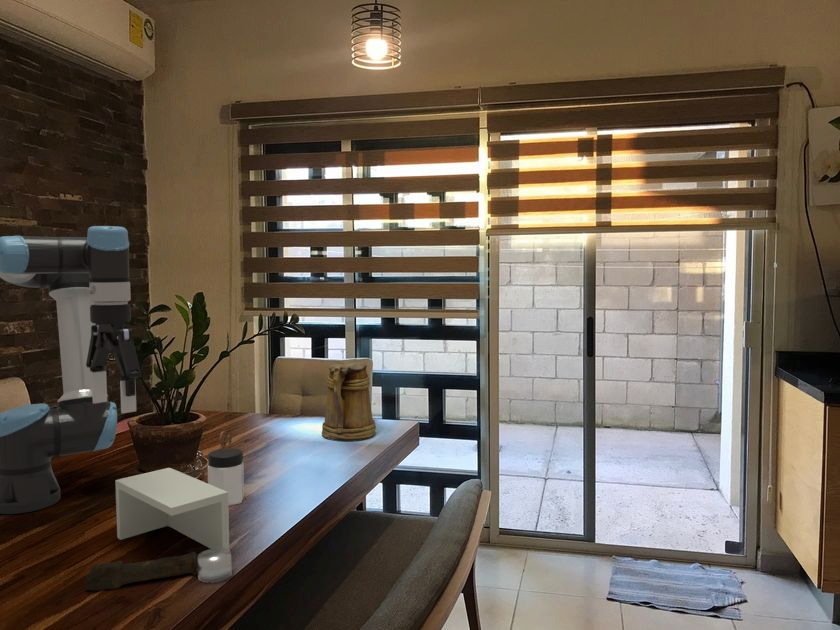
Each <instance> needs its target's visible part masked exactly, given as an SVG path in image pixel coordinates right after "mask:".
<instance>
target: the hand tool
mask: <svg viewBox="0 0 840 630" xmlns="http://www.w3.org/2000/svg"><path fill="white" fill-rule="evenodd" d="M187 574H192V575H193V576H197V574H198V558H197V553H196V551H195V552H194V551H191V552H189V553H188V554H183V555H174V556H167V557H161V558H159V559H151V560H146V561H140V562H131V563H125V564H124V563H123V561H122V560H119V561H113V562H104V563H100V564H96V565H94V566H93V567H91V568H90V569H89V571H88V574H87V575H86V578H85V581H84V588H85V590H86V591H92V592H94V591H95V590H96V591H104V590H113V589H114V590H115V589H121V588H122V586H125V585H128V584H133V583H139V582H146V581H149V580H157V579H163V578H169V577H177V576H183V575H187Z"/></svg>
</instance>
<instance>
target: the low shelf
mask: <svg viewBox="0 0 840 630" xmlns="http://www.w3.org/2000/svg"><path fill="white" fill-rule="evenodd" d="M114 484H115V504H116V505H115V508H116V510H115V511H116V536H117V539H118V540H121V541H122V540H125V539H127V538H132V537H135V536H139V535H141V534H145V533H147V532H150V531H155V530H157V529H162V528H165V527H169V528H172V529H174V530H175V531H177V532H179V533H181V534H182V535H184V536H187V537H188V538H189V539H192V540H193V541H195V542H197V543H199V544H201V545H202V546H205V547H207V548H208V549H215V548H223V549H227V550H229V551H230V522H229V521H230V520H229V518H230V517H229V514H230V513H229V512H230V511H229V506H228V492H227V491H224V490H222V489H219V488H217V487H215V486H212V485H210V484H208V482H205V481H203V480H200V479H198V478H195V477H193V476H191V475H188V474H186V473H184V472H182V471H178V470H177V469H174V468H171V467H166V468H162V469H157V470H154V471H150V472H145V473H141V474H136V475H132V476H128V477H122V478H118V479H116V480H115V483H114Z"/></svg>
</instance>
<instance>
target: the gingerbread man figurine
mask: <svg viewBox="0 0 840 630" xmlns="http://www.w3.org/2000/svg"><path fill="white" fill-rule="evenodd" d="M218 440H219V445H218V446H217V448H216V450H218V449H226V448H230V447H231V445H232V440H233V437H232V435H231V434H228V432H227V430H226V431H225V430H223V431H221V432H220V434H219V439H218Z"/></svg>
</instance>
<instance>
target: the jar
mask: <svg viewBox="0 0 840 630" xmlns="http://www.w3.org/2000/svg"><path fill="white" fill-rule="evenodd" d="M225 448H226V447H225ZM243 453H244V452H243V450H241V449H240V448H234V447H233V448H230V447H229V448H226V449H222V448H220V449H218V450H217V449H214V450H212V451H210V452H209V453H208V454H207V460H208V466H207V484H210V485H212V486H215V487H217V488H219V489H222V490H224V491H227V492H228V507H230V506H234V505H239V504H241V503H242V502H243V500H244V497H245V476H244V475H245V473H244V472H245V471H244V470H245V469H244V467H245V466H244V454H243Z"/></svg>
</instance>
